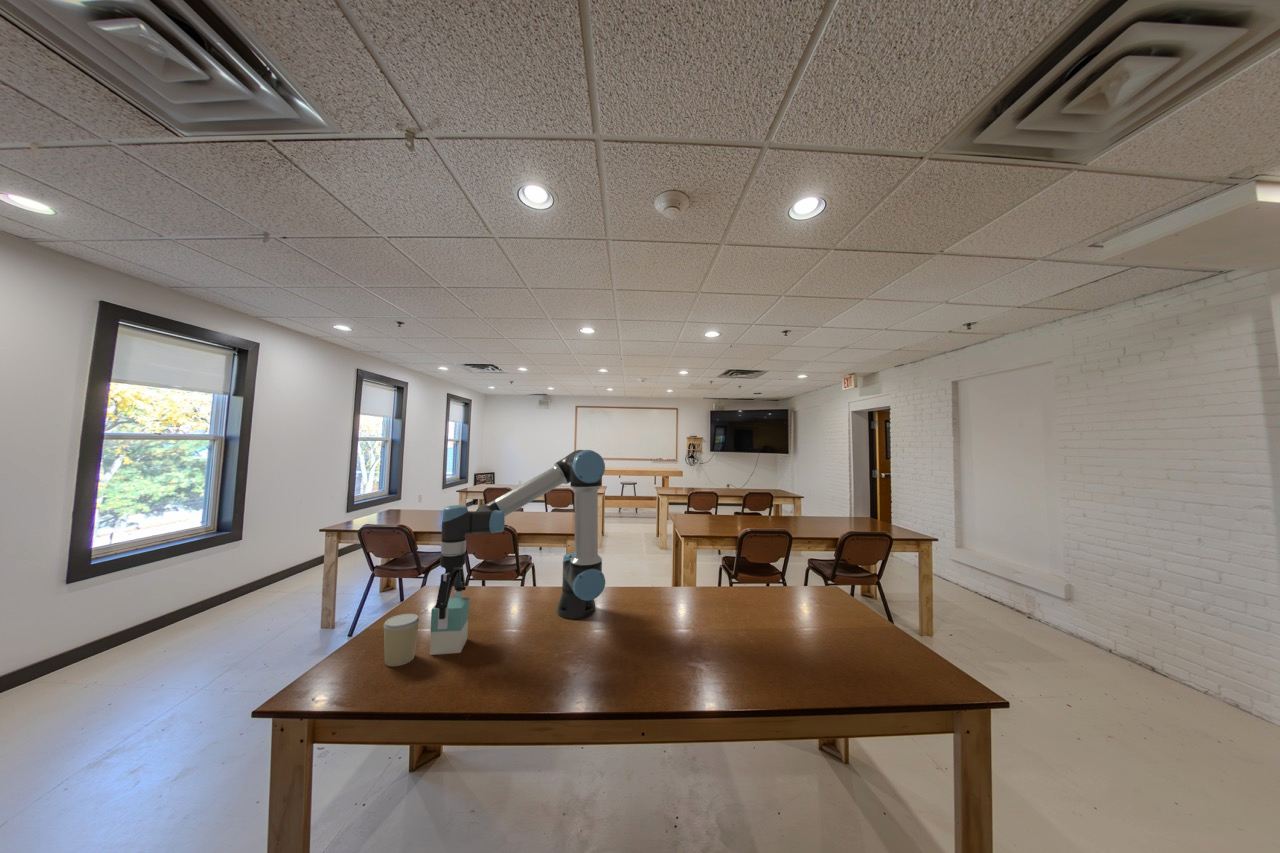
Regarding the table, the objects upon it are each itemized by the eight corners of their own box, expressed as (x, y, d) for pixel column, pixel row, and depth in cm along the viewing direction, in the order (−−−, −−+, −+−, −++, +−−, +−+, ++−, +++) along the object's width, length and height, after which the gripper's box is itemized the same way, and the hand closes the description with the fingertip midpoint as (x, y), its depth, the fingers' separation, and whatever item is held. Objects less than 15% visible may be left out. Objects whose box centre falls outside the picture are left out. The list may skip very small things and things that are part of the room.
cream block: (467, 639, 134) (468, 618, 135) (460, 652, 125) (461, 630, 126) (438, 641, 133) (439, 619, 133) (429, 655, 124) (430, 632, 124)
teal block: (468, 618, 134) (469, 597, 135) (460, 630, 126) (461, 608, 126) (440, 619, 133) (441, 598, 134) (430, 632, 124) (431, 609, 125)
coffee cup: (424, 652, 125) (425, 614, 126) (403, 669, 116) (405, 627, 116) (396, 650, 126) (398, 612, 127) (373, 666, 117) (376, 625, 117)
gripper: (454, 544, 143) (452, 604, 142) (425, 564, 118) (422, 637, 117) (476, 544, 144) (473, 603, 142) (451, 564, 119) (448, 636, 118)
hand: (450, 619), depth 130 cm, fingers open, 13 cm apart
